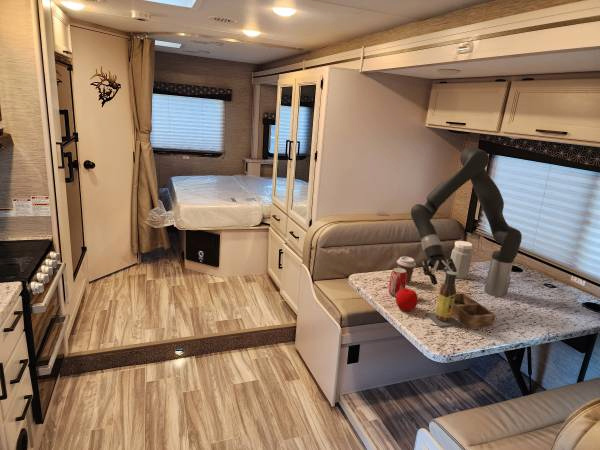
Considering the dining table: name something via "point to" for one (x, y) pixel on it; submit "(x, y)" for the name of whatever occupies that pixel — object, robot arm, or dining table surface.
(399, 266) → the coffee cup
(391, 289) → the soda can
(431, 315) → the coaster
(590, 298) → the dining table surface
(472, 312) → the caddy
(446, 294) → the sauce bottle
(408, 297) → the fruit
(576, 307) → the dining table surface
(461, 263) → the jar
